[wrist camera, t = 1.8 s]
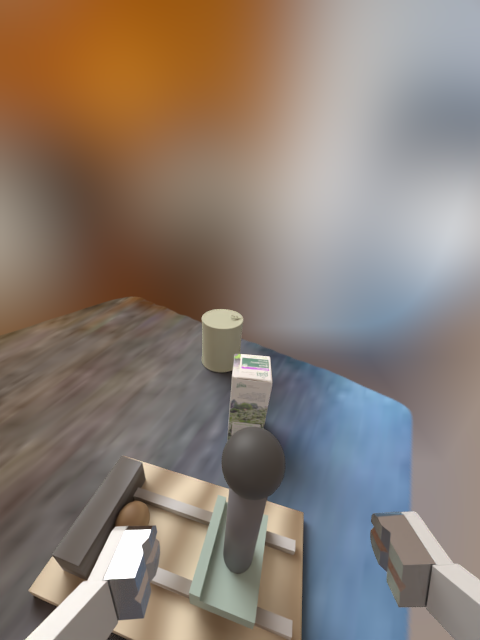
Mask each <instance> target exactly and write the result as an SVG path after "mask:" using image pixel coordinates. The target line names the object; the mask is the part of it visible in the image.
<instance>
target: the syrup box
mask: <svg viewBox="0 0 480 640" xmlns="http://www.w3.org/2000/svg"><path fill="white" fill-rule="evenodd" d="M271 389H272V373H271V363H270V357H268V356H257V355H246V354H235V355H234V364H233V372H232V382H231V396H230V410H229V423H228V438H227V441H228V440H229V439H230V437H231V436H232V435H233V434H234V433H236V432H237V431H238V430H240V429H243V428H246V427H260V428H263V429H264V424H265V419H266V414H267V409H268V404H269V398H270V393H271Z"/></svg>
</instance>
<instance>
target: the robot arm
mask: <svg viewBox="0 0 480 640" xmlns="http://www.w3.org/2000/svg"><path fill="white" fill-rule="evenodd" d="M371 522H372V524H373V526H374V527H373V529H372V530H371V532H370V539H371V544H372V548H373V551H374V554H375V556H376V559H377V561H378V563H379V565H380V566H381V567H382V568H383V569H384V570H385V571H386V572H387V583H388V585H389V587H390V589H391V591H392V593H393V596H394V598H395V600H396V602H397V604H398V606H399V607H426V609H427V610H428V611H429V613H430V614H431V615H432V616H433V617H434V618H435V619H436V620H437V621H438V622H439V623H440V624H441V625H442V627H444V629H445V630H446V631H447V632H448V633H449V634H450V635H451V636H452V637H453V638H454V639H455V640H480V580H479V579H478V578H476V577H475V576H474V575H472V574H471V573H470V572H468V571H467V570H466V569H464V568H463V567H462V566H461V565H459V564H453V562H452V561H451V559H450V558H449V557H448V555H447V554H446V552H445V551H444V550H443V548H442V547H441V545H440V544H439V543H438V541H437V540H436V539H435V537H434V536H433V534H432V533H431V532H430V530H429V529H428V527H427V526H426V524H425V523H424V522H423V520H422V519H421V518H420V516H419V515H418V514H417V513H415V512H414V511H411V512H389V513H374V514H373V515H372V517H371ZM156 535H157V528H156V525H151V526H117V527H115V528H114V529H113V530H112V531H111V533H110V535H109V537H108V539H107V541H106V543H105V545H104V547H103V549H102V551H101V553H100V556H99V558H98V560H97V562H96V564H95V566H94V568H93V570H92V572H91V574H90V576H89V578H88V580H87V581H83V582H82V583H81V584H80V585H79V586H78V587H77V588H76V589H75V590H74V591H73V592H72V593H71V594H70V595H69V596H68V597H67V598H66V599H65V600H64V601H63V602H62V603H61V604H60V605H59V606H58V607H57V608H56V609H55V610H54V611H53V612H52V613H51V614H50V615H49V616H48V617H47V618H46V619H45V620H44V621H43V622H42V623H41V624H40V625H39V626H38V627H37V628H36V629H35V630H34V631H33V632H32V633H31V634H30V635H29V636H28V637H27V638H26V639H25V640H107V638H108V637H109V635H110V634H111V632H112V631H113V630H114V628H115V627H116V625H117V624H118V620H130V619H142V618H144V616H145V613H146V609H147V605H148V602H149V598H150V595H151V587H150V582H151V581H152V579H153V578H154V577H155V576H156V573H157V569H158V565H159V558H160V543H159V541H158V540H157V539H156Z"/></svg>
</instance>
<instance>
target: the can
mask: <svg viewBox="0 0 480 640" xmlns="http://www.w3.org/2000/svg"><path fill="white" fill-rule="evenodd" d="M242 324H243V317H242V316H241V315H240V314H239V313H237V312H235V311H232V310H227V309H216V310H211V311H208V312H206V313H205V314H204V315H203V316H202V363H203V365H204V366H205V367H206V368H207V369H209V370H211V371H214V372H228V371H231V370H233V364H234V355H235V354H240V346H241V335H242Z"/></svg>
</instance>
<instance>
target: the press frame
mask: <svg viewBox="0 0 480 640" xmlns="http://www.w3.org/2000/svg"><path fill="white" fill-rule="evenodd" d="M218 495H220V496H223V497H226V502H228V496H229V489H227V488H224V487H221V486H217V485H214V484H211V483H208V482H205V481H202V480H198V479H195V478H192V477H189V476H186V475H183V474H180V473H176V472H173V471H170V470H167V469H164V468H161V467H157V466H154V465H151V464H148V463H145V462H142V461H138V460H135V459H132V458H129V457H126V456H121V457H120V459H119V460H118V461H117V463H116V464H115V466H114V467H113V469H112V470H111V471H110V473H109V474H108V476H107V477H106V478H105V480H104V481H103V483H102V484H101V485H100V487H99V488H98V490H97V491H96V493H95V494H94V495H93V497H92V498H91V500H90V501H89V502H88V504H87V505H86V507H85V508H84V509H83V511H82V512H81V514H80V515H79V517H78V518H77V519H76V521H75V522H74V524H73V525H72V526H71V528H70V529H69V531H68V532H67V534H66V535H65V536H64V538H63V539H62V541H61V542H60V543H59V545H58V546H57V548H56V549H55V550H54V552H53V553H52V558H51V559H50V560H49V562H48V563H47V565H46V566H45V567H44V569H43V570H42V572H41V573H40V575H39V576H38V577H37V579H36V580H35V582H34V583H33V585H32V586H31V587H30V589H29V590H28V591H29V592H30V593H31V594H32V595H34V596H36V597H38V598H40V599H42V600H44V601H46V602H48V603H51V604H53V605H55V606H57V607H58V606H59V605H60V604H61V603H62V602H63V601H64V600H65V599H66V598H67V597H68V596H69V595H70V594H71V593H72V592H73V591H74V590H75V589H76V588H77V587H78V586H79V585H80V584H81V583H82V582H83V581H87V580H88V578H89V576H90V574H91V572H92V570H93V568H94V566H95V564H96V562H97V560H98V558H99V556H100V553H101V551H102V549H103V547H104V545H105V543H106V541H107V539H108V537H109V535H110V533H111V531H112V530H113V529H114V528H115V527H117V526H151V525H156V528H157V535H156V539H157V540H158V541H159V543H160V558H159V565H158V569H157V573H156V576H155V577H154V578H153V579H152V581H151V582H150V587H151V595H150V598H149V602H148V605H147V609H146V613H145V616H144V618H142V619H130V620H118V624H117V625H116V627H115V628H114V630H113V631H112V633H115V634H117V635H119V636H121V637H123V638H125V639H127V640H301V623H302V565H303V512H300V511H297V510H293V509H290V508H287V507H284V506H281V505H278V504H274V503H271V502H268V501H266V506H265V510H264V514H265V515H268V522H267V530H266V538H265V546H264V554H263V562H262V570H261V578H260V586H259V594H258V602H257V610H256V618H255V624H254V627H253V630H252V629H250V628H248V627H245V626H243V625H240V624H238V623H236V622H233V621H231V620H228V619H226V618H224V617H221V616H219V615H216V614H214V613H212V612H209V611H207V610H204V609H202V608H200V607H197V606H195V605H192V604H190V600H189V591H190V587H191V584H192V581H193V577H194V574H195V570H196V567H197V564H198V560H199V557H200V554H201V550H202V547H203V544H204V540H205V537H206V534H207V530H208V527H209V524H210V520H211V517H212V514H213V510H214V507H215V504H216V500H217V497H218Z"/></svg>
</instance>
